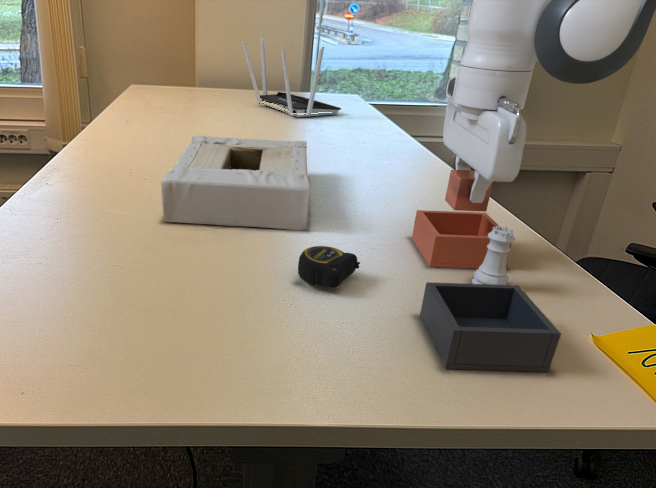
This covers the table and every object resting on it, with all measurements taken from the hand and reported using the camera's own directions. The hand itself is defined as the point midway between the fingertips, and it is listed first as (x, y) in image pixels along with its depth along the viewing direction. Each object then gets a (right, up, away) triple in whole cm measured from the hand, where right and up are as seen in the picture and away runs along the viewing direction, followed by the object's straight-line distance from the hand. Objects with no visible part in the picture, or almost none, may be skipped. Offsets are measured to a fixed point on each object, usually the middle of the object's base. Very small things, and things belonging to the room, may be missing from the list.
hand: (467, 194), depth 82 cm
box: (-32, +4, +24) cm, 40 cm away
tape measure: (-20, -13, -6) cm, 25 cm away
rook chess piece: (+1, -13, -5) cm, 14 cm away
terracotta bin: (0, -8, +4) cm, 9 cm away
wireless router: (-19, +44, +100) cm, 111 cm away
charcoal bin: (-5, -19, -18) cm, 27 cm away
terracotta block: (0, -1, +1) cm, 2 cm away
